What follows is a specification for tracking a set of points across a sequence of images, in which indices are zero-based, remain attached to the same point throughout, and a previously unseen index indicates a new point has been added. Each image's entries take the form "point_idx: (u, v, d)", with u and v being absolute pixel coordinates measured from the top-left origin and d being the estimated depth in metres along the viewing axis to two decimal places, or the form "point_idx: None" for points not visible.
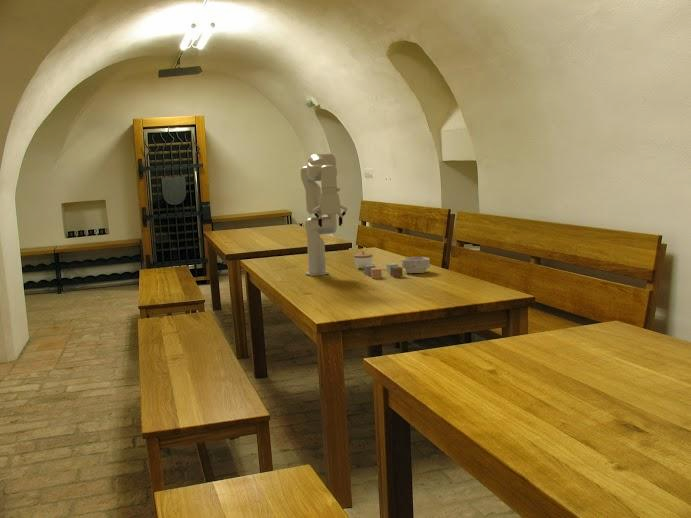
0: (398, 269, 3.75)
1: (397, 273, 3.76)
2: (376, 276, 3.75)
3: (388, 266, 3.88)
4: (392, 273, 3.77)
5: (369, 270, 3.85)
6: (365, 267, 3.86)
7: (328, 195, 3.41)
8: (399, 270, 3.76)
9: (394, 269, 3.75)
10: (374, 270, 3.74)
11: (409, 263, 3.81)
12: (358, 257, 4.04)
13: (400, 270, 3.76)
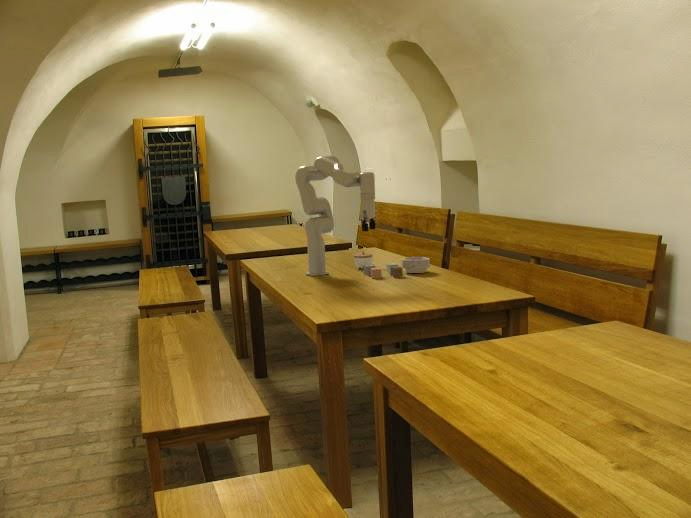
0: (398, 269, 3.75)
1: (397, 273, 3.76)
2: (376, 276, 3.75)
3: (388, 266, 3.88)
4: (392, 273, 3.77)
5: (369, 270, 3.85)
6: (365, 267, 3.86)
7: (371, 200, 3.58)
8: (399, 270, 3.76)
9: (394, 269, 3.75)
10: (374, 270, 3.74)
11: (409, 263, 3.81)
12: (358, 257, 4.04)
13: (400, 270, 3.76)
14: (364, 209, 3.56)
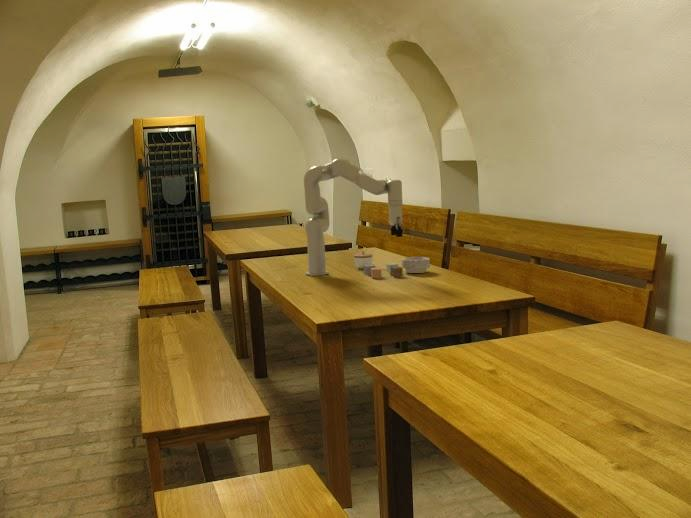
0: (398, 269, 3.75)
1: (397, 273, 3.76)
2: (376, 276, 3.75)
3: (388, 266, 3.88)
4: (392, 273, 3.77)
5: (369, 270, 3.85)
6: (365, 267, 3.86)
7: None
8: (399, 270, 3.76)
9: (394, 269, 3.75)
10: (374, 270, 3.74)
11: (409, 263, 3.81)
12: (358, 257, 4.04)
13: (400, 270, 3.76)
14: (398, 215, 3.69)
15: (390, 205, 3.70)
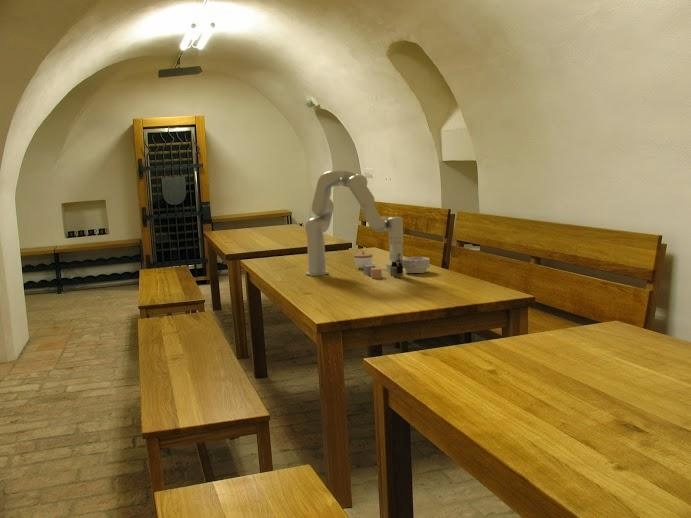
0: None
1: None
2: (376, 276, 3.75)
3: (388, 266, 3.88)
4: (392, 273, 3.77)
5: (369, 270, 3.85)
6: (365, 267, 3.86)
7: None
8: None
9: (394, 269, 3.75)
10: (374, 270, 3.74)
11: (409, 263, 3.81)
12: (358, 257, 4.04)
13: None
14: (399, 252, 3.72)
15: (391, 242, 3.73)
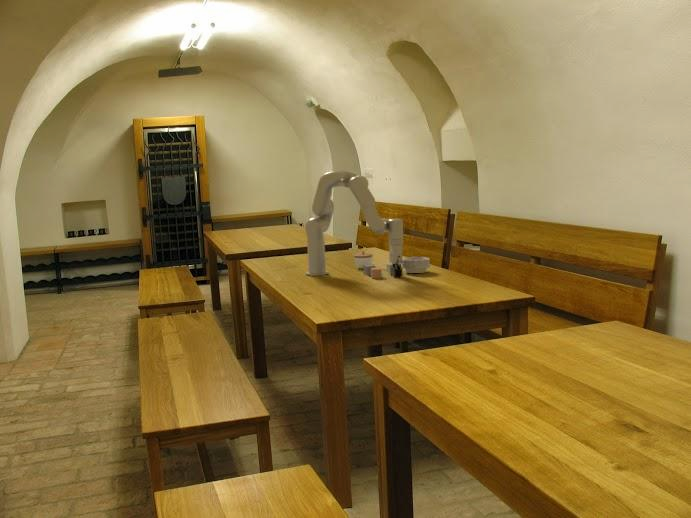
0: None
1: None
2: (376, 276, 3.75)
3: (388, 266, 3.88)
4: (392, 273, 3.77)
5: (369, 270, 3.85)
6: (365, 267, 3.86)
7: None
8: None
9: (394, 269, 3.75)
10: (374, 270, 3.74)
11: (409, 263, 3.81)
12: (358, 257, 4.04)
13: None
14: (398, 254, 3.72)
15: (391, 244, 3.73)
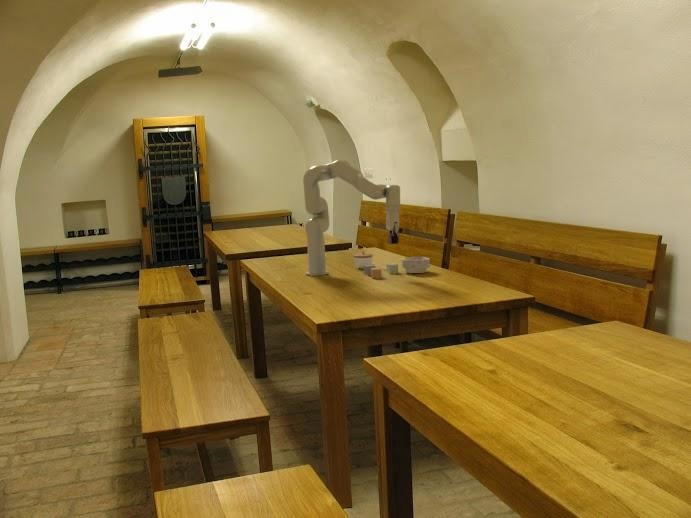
0: None
1: None
2: (376, 276, 3.75)
3: (388, 266, 3.88)
4: (389, 240, 3.75)
5: (369, 270, 3.85)
6: (365, 267, 3.86)
7: None
8: None
9: (391, 235, 3.73)
10: (374, 270, 3.74)
11: (409, 263, 3.81)
12: (358, 257, 4.04)
13: None
14: (395, 220, 3.70)
15: (388, 210, 3.71)
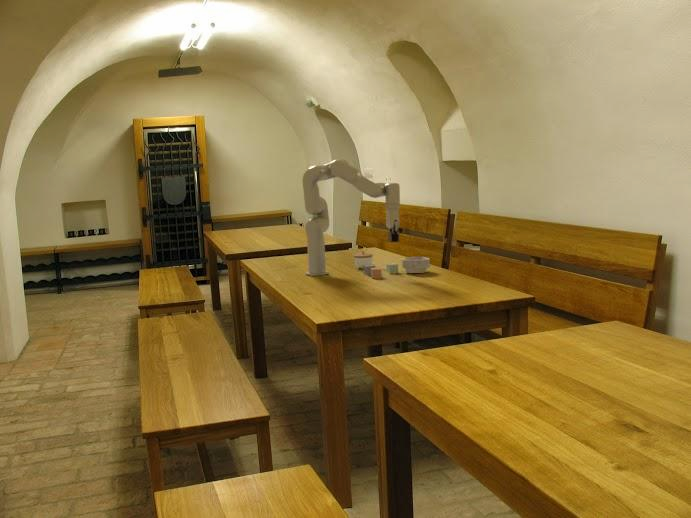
0: None
1: None
2: (376, 276, 3.75)
3: (388, 266, 3.88)
4: (389, 238, 3.75)
5: (369, 270, 3.85)
6: (365, 267, 3.86)
7: None
8: None
9: (391, 233, 3.73)
10: (374, 270, 3.74)
11: (409, 263, 3.81)
12: (358, 257, 4.04)
13: None
14: (395, 218, 3.70)
15: (387, 208, 3.71)
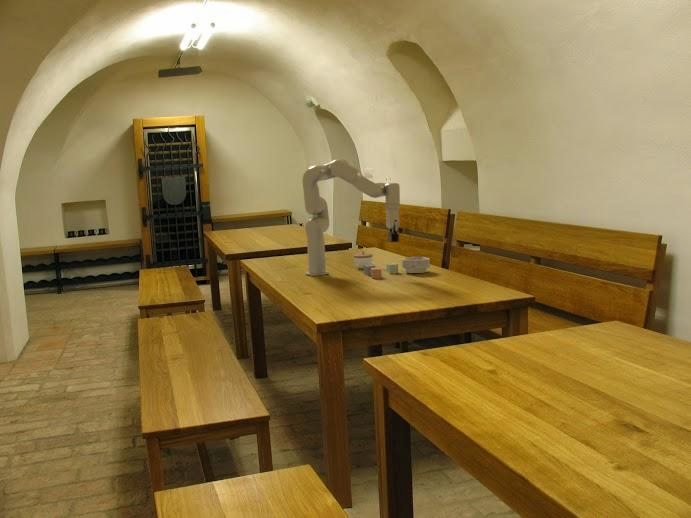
0: None
1: None
2: (376, 276, 3.75)
3: (388, 266, 3.88)
4: (389, 238, 3.75)
5: (369, 270, 3.85)
6: (365, 267, 3.86)
7: None
8: None
9: (391, 233, 3.73)
10: (374, 270, 3.74)
11: (409, 263, 3.81)
12: (358, 257, 4.04)
13: None
14: (395, 218, 3.70)
15: (387, 208, 3.71)
